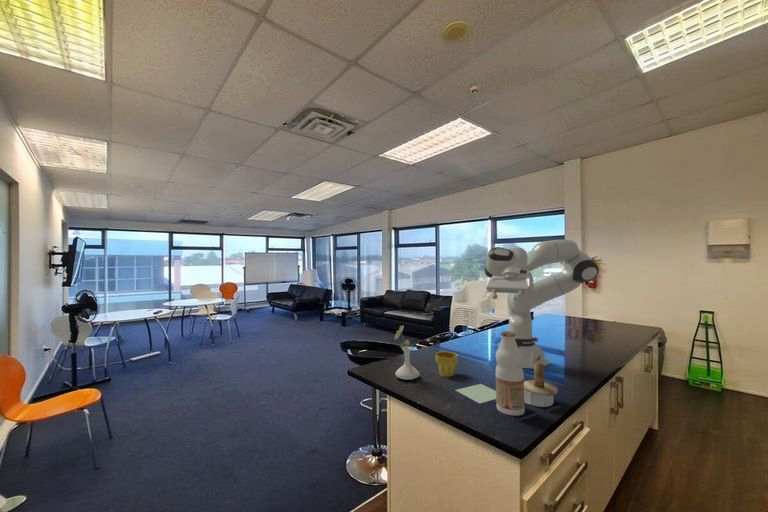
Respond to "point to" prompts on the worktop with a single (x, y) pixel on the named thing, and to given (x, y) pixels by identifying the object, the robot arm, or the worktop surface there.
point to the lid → (539, 382)
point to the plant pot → (446, 363)
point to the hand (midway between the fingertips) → (504, 298)
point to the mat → (478, 393)
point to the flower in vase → (406, 360)
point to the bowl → (538, 399)
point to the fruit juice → (509, 376)
